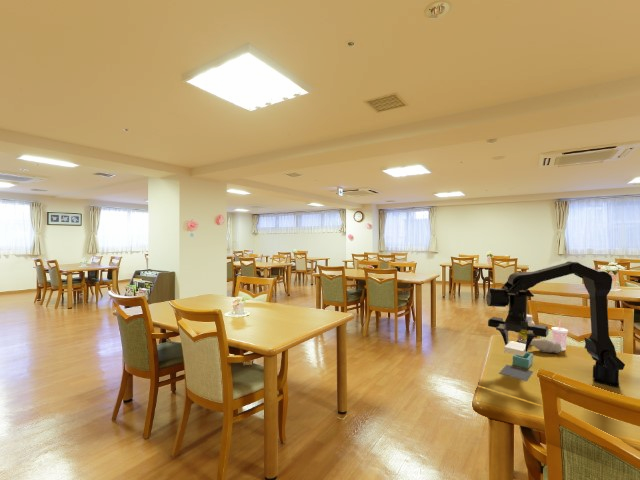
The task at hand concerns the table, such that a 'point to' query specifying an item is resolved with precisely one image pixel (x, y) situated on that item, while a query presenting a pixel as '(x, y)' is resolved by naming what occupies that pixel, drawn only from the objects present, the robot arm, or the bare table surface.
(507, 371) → the mat
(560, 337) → the beverage cup
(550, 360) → the table surface
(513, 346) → the lid
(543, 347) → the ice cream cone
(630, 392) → the table surface
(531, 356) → the teal open box
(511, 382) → the table surface
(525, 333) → the supplement bottle
